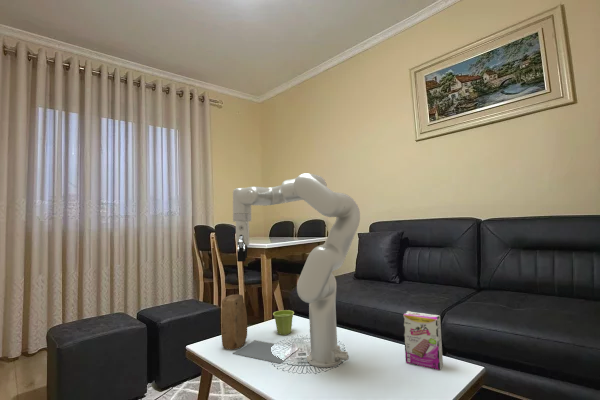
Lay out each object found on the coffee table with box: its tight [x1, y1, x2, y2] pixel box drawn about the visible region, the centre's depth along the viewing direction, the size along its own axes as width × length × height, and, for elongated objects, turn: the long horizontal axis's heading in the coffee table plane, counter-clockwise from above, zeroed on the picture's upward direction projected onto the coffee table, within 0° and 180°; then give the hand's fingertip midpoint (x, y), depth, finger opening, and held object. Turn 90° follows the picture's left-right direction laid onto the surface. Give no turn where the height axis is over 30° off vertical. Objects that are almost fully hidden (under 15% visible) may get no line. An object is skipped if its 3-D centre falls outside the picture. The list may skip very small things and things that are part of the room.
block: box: [220, 294, 248, 350], centre depth 133 cm, size 11×8×20 cm
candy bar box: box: [402, 310, 444, 371], centre depth 109 cm, size 11×5×16 cm, turn 56°
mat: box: [232, 339, 284, 365], centre depth 125 cm, size 22×14×1 cm, turn 61°
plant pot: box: [272, 309, 295, 336], centre depth 144 cm, size 9×9×9 cm
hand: (242, 259), depth 133 cm, fingers open, 9 cm apart
